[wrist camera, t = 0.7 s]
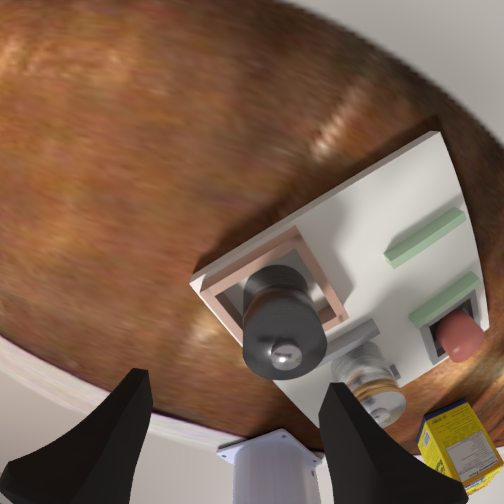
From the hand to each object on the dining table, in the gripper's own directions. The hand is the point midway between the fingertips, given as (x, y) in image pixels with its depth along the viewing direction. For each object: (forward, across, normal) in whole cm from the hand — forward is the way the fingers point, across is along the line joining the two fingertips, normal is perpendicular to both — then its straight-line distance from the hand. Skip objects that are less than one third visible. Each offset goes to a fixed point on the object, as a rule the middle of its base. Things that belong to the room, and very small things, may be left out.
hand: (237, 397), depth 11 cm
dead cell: (+8, -2, 0) cm, 9 cm away
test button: (+8, -17, +2) cm, 18 cm away
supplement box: (+10, -25, +17) cm, 32 cm away
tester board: (+10, -10, +1) cm, 13 cm away
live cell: (+8, -9, +5) cm, 13 cm away
